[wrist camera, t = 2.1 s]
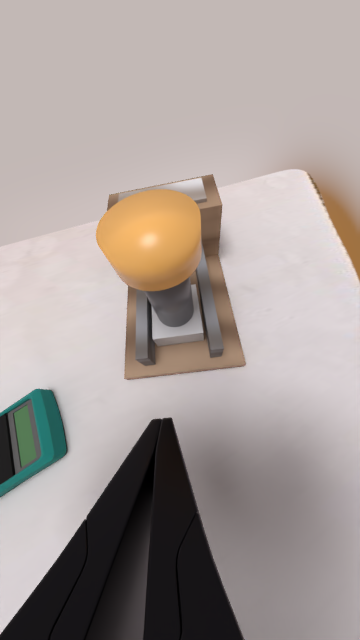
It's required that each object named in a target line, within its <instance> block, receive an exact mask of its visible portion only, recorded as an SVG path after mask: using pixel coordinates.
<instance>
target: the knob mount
mask: <svg viewBox="0 0 360 640" xmlns="http://www.w3.org/2000/svg"><path fill="white" fill-rule="evenodd" d="M156 189H167V190H174V191H178V192H181V193H183V194H186V195H187V196H189V197H190V198H192V199H193V200H194V201H195V202H196V204H197V205H198V207H199V210H200V215H201V246H202V254H201V260H200V262H199V265H198V267H197V268H196V270H195V271H194V272H193V274H192V275H191V276H190V282H191V285H194V284H196V290H197V296H198V302H199V309H200V315H201V321H202V327H203V336H204V340H203V341H196V342H188V343H180V344H173V345H165V346H157V344H156V343H155V342H154V341H153V337H152V305H151V303H150V301H149V300H148V298H147V296H146V294H145V292H144V291H142V290H138V289H135V288H132V287H130V286H129V285H128V302H127V326H126V350H125V374H124V379H127V380H130V379H139V378H147V377H156V376H164V375H173V374H181V373H190V372H198V371H207V370H215V369H224V368H232V367H241V366H245V365H246V363H245V359H244V355H243V351H242V347H241V343H240V339H239V335H238V331H237V327H236V323H235V319H234V315H233V311H232V307H231V303H230V299H229V295H228V291H227V287H226V283H225V279H224V275H223V271H222V268H221V264H220V260H219V256H218V251H219V239H220V227H221V214H222V202H221V199H220V196H219V193H218V190H217V187H216V184H215V181H214V177H213V175H207V176H202V177H197V178H192V179H187V180H182V181H177V182H172V183H167V184H162V185H157V186H152V187H147V188H142V189H136V190H132V191H127V192H122V193H116V194H111V195H109V200H108V208H107V211H108V210H109V209H110V208H111V207H112V206H113V205H115V204H116V203H118V202H119V201H121V200H123V199H124V198H126V197H128V196H131V195H133V194H136V193H139V192H143V191H148V190H156Z"/></svg>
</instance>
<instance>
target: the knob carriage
mask: <svg viewBox="0 0 360 640" xmlns="http://www.w3.org/2000/svg"><path fill="white" fill-rule="evenodd" d="M96 239H97V243H98V245H99V247H100V249H101V250H102V252H103V253H104V255H105V256H106V258H107V259H108V261H109V262H110V264H111V265H112V267H113V268H114V270H115V271H116V273H117V274H118V276H119V277H120V278H121V280H122V281H123V282H124V283H126V284H127V285H129V286H130V287H132V288H135V289H138V290H142V291H144V292H145V294H146V296H147V298H148V300H149V301H150V303H151V305H152V337H153V341H154V342H155V343H156V344H157V346H165V345H173V344H180V343H188V342H196V341H203V340H204V336H203V327H202V321H201V315H200V309H199V302H198V296H197V290H196V284H194V285H191V282H190V276H191V275H192V274H193V272H194V271H195V270H196V268H197V267H198V265H199V262H200V260H201V254H202V246H201V215H200V210H199V207H198V205H197V204H196V202H195V201H194V200H193V199H192V198H190V197H189V196H187V195H186V194H183V193H181V192H178V191H174V190H167V189H156V190H148V191H143V192H139V193H136V194H133V195H131V196H128V197H126V198H124V199H123V200H121V201H119V202H118V203H116V204H115V205H113V206H112V207H111V208H110V209H109V210H108V211H107V212H106V213H105V214H104V216H103V217H102V218H101V220H100V222H99V224H98V226H97V230H96Z"/></svg>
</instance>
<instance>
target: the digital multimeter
mask: <svg viewBox="0 0 360 640" xmlns="http://www.w3.org/2000/svg"><path fill="white" fill-rule="evenodd" d="M65 454H66V442H65V436H64V430H63V425H62V420H61V416H60V413H59V409H58V406H57V404H56V401H55V398H54V395H53V393H52V391H51V390H44V389H35V390H34V391H32V392H31V393H29V394H28V395H26V396H25V397H23V398H22V399H20V400H19V401H17V402H16V403H14V404H13V405H11V406H10V407H8V408H7V409H5V410H4V411H3V412H1V413H0V497H1V496H3V495H4V494H6V493H7V492H9V491H10V490H12V489H13V488H15V487H16V486H18V485H19V484H21V483H22V482H24V481H25V480H27V479H28V478H30V477H32V476H33V475H35V474H36V473H38V472H40V471H41V470H43V469H44V468H46V467H48V466H49V465H51V464H53V463H54V462H56V461H57V460H59V459H61V458H62V457H63V456H64V455H65Z"/></svg>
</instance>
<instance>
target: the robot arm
mask: <svg viewBox="0 0 360 640" xmlns="http://www.w3.org/2000/svg"><path fill="white" fill-rule="evenodd" d="M0 640H244V638H243V635H242V633H241V630H240V627H239V625H238V622H237V620H236V617H235V615H234V612H233V609H232V607H231V604H230V602H229V599H228V597H227V594H226V592H225V589H224V586H223V584H222V581H221V578H220V576H219V573H218V570H217V567H216V565H215V562H214V559H213V556H212V553H211V550H210V547H209V544H208V541H207V537H206V534H205V531H204V528H203V524H202V521H201V517H200V514H199V511H198V507H197V504H196V500H195V497H194V493H193V490H192V486H191V483H190V479H189V476H188V472H187V469H186V465H185V462H184V458H183V455H182V451H181V448H180V445H179V441H178V438H177V434H176V431H175V427H174V424H173V420H172V418H163V419H153V420H152V421H151V422H150V423H149V425H148V426H147V428H146V429H145V431H144V432H143V434H142V435H141V437H140V438H139V440H138V441H137V443H136V444H135V446H134V447H133V449H132V450H131V452H130V453H129V455H128V456H127V458H126V459H125V460H124V462H123V463H122V465H121V466H120V468H119V469H118V471H117V472H116V474H115V475H114V477H113V478H112V480H111V481H110V483H109V484H108V486H107V487H106V489H105V490H104V492H103V493H102V495H101V496H100V498H99V499H98V500H97V502H96V503H95V505H94V506H93V508H92V509H91V511H90V512H89V514H88V515H87V520H86V519H85V520H84V521H83V523H82V524H81V526H80V527H79V528H78V530H77V531H76V533H75V534H74V536H73V537H72V539H71V540H70V542H69V543H68V544H67V546H66V547H65V549H64V550H63V552H62V553H61V554H60V556H59V557H58V559H57V560H56V562H55V563H54V564H53V566H52V567H51V568H50V570H49V571H48V572H47V574H46V575H45V576H44V578H43V579H42V580H41V582H40V583H39V584H38V586H37V587H36V588H35V590H34V591H33V592H32V594H31V595H30V596H29V598H28V599H27V600H26V602H25V603H24V604H23V606H22V607H21V608H20V609H19V611H18V612H17V613H16V615H15V616H14V617H13V619H12V620H11V621H10V623H9V624H8V625H7V626H6V628H5V629H4V630H3V632H2V633H1V634H0Z"/></svg>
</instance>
